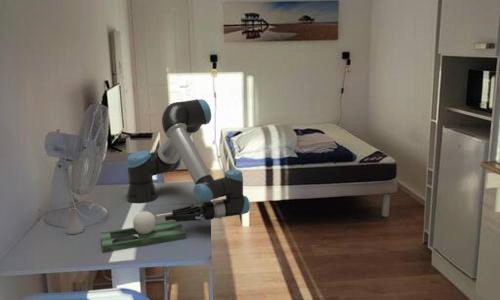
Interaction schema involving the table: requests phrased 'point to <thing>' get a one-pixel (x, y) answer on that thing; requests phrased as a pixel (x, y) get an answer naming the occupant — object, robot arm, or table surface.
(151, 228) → the ball
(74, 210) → the flask
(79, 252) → the table surface
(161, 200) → the table surface
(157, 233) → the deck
